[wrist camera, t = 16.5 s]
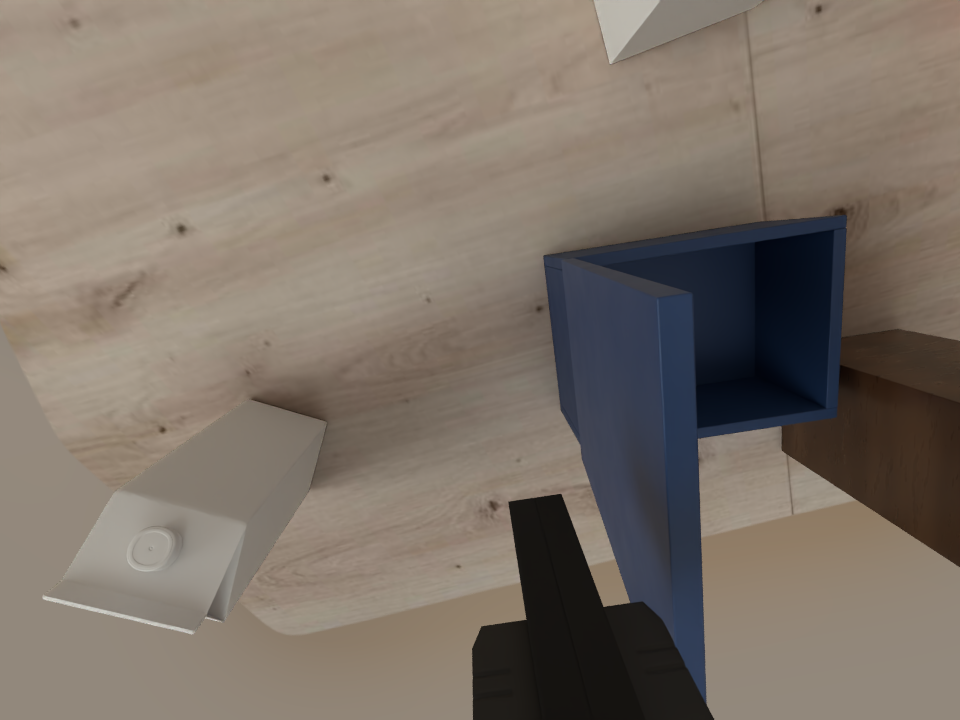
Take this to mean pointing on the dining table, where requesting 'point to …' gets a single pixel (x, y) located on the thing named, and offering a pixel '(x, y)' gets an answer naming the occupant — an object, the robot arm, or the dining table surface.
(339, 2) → the dining table surface
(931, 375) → the stand
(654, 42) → the white double channel rack
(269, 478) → the milk carton
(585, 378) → the lid
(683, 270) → the box
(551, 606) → the robot arm
